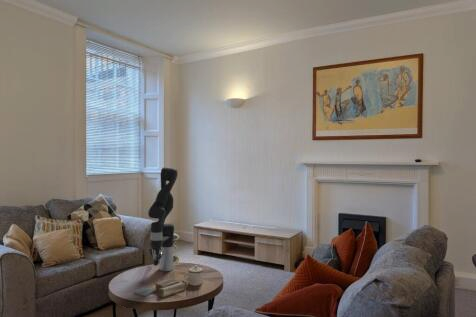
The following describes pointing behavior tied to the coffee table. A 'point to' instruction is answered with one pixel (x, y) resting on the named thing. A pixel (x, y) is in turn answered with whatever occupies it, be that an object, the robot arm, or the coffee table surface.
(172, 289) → the cream long bar
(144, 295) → the slate coaster
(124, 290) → the coffee table surface
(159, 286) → the tan rectangular block
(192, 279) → the teacup with lid
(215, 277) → the coffee table surface
